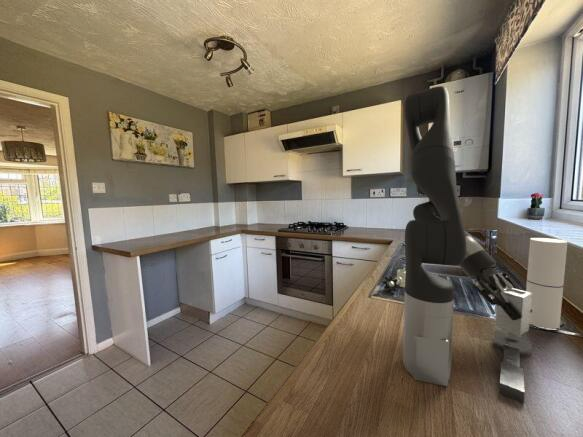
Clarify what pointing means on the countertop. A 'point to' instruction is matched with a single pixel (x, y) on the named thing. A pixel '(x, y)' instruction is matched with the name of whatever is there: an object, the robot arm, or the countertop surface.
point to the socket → (523, 306)
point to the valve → (395, 281)
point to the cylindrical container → (546, 280)
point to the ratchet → (512, 362)
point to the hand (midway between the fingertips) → (523, 315)
